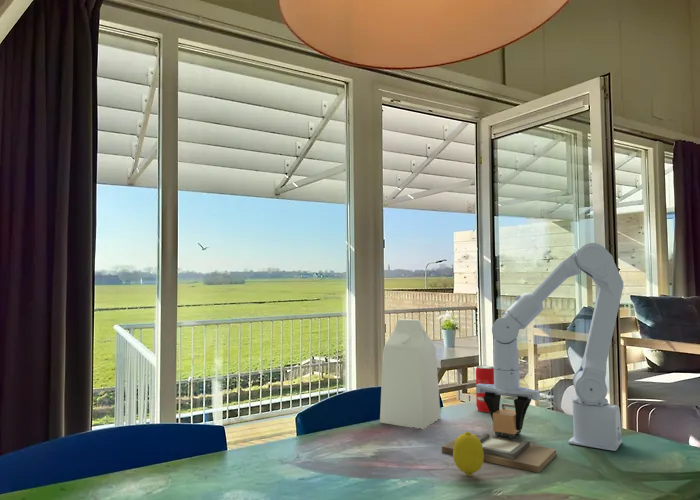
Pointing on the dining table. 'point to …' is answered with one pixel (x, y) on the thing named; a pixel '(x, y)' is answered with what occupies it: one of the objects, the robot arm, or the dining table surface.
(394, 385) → the milk
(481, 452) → the lemon
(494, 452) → the dock
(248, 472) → the dining table surface
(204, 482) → the dining table surface
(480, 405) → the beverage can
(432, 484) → the dining table surface
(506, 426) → the toy cart
